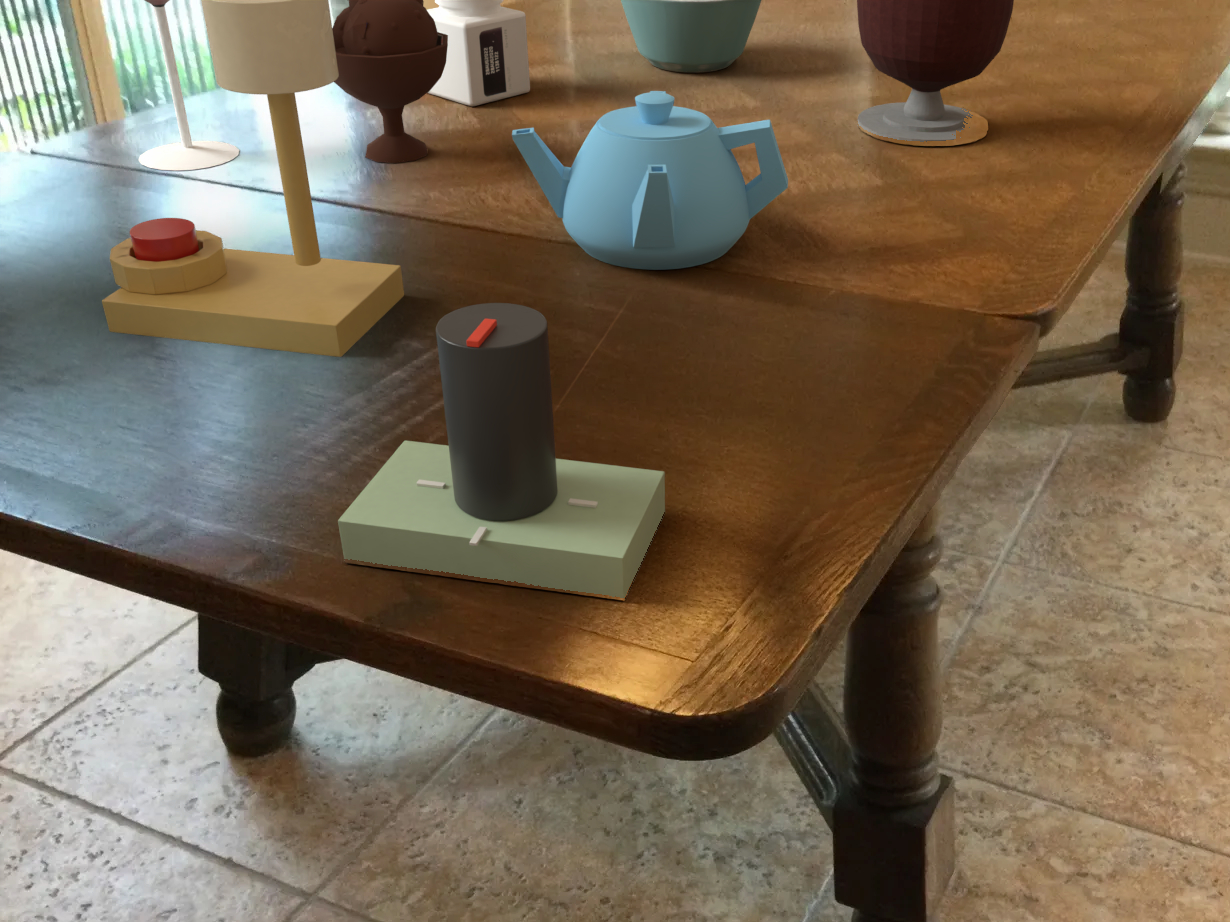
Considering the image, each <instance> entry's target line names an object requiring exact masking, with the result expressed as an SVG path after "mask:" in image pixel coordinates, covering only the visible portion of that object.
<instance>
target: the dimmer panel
mask: <svg viewBox="0 0 1230 922" xmlns="http://www.w3.org/2000/svg"><path fill="white" fill-rule="evenodd" d="M556 473H557V490H558V492H557V496H556V498H555V500H554V501H553V503H552V504H551V505H550V506H549V507H547V508H546V509H545V510H543V511H541V512H539V513H537V514H535V515H532V516H529V517H526V518H522V519H517V520H509V521H493V520H485V519H480V518H477V517H474V516H471V515H469V514H467V513H465V512H464V511H462V510H461V509H460V508H459V506H458V505H457V504H456V502H455V498H454V490H453V481H452V472H451V463H450V454H449V445H446V444H437V443H431V442H423V441H422V442H421V441H414V440H413V441H412V440H404V441H403V442H402V443H401V444H400V445H399V446H398V447H397V448H396V450H395V451H394V453H392V455H391V456H390V457H389V458H388V460H386V462H385V463H384V464H383V466H382V467H381V468H380V469H379V470H378V472H377V473H376V474H375V475H374V476H373V477H372V479H371V480H370V481H369V483H367V485H366V486H365V487H364V488H363V490H362V491H360V493H359V494H358V496H357V497H356V498H355V499H354V500H353V502H352V503H351V504H350V505H349V507H347V509H346V510H345V511H344V512H343V514H342V515H341V516H340V517H339V519H338V520H337V523H338V529H339V535H340V542H341V548H342V553H343V560H344V559H348V560H350V559H352V560H357V561H358V560H359V561H364V562H370V563H371V562H372V563H373V564H375V563H377V564H383V565H388V566H391V565H392V566H398V567H401V566H402V567H407V568H413V569H415V568H417V569H423V570H425V569H427V570H429V571H430V570H433V571H439V572H441V571H443V572H445V573H446V572H449V573H455V574H461V575H463V574H464V575H468V576H474V577H480V578H487V579H493V580H494V579H498V580H504V581H506V582H507V581H511V582H514V581H516V582H518V583H525V584H527V585H530V584H532V585H534V586H538V585H539V586H541V587H548V588H555V589H563V590H565V591H566V590H570V591H578V592H586V593H594V594H602V595H609V596H612V597H615V596H616V597H620V598H625V596H626V594H627V591H628V589H629V587H630V585H631V583H632V581H633V579H634V577H635V575H636V573H637V571H638V572H639V570H638V568H639V567H640V568H641V566H642V564H641V562H642V561H643V562H644V560H643V558H644V559H645V557H646V555H645V553H646V552H647V553H648V551H647V549H648V547H649V545H650V546H651V544H650V542H651V541H652V542H653V540H652V538H653V536H654V533H655V531H656V530H657V531H658V529H657V527H658V525H659V523H660V521H661V522H662V520H663V518H662V516H663V514H664V512H665V513H666V481H665V480H666V479H665V478H666V477H665V476H666V472H665V471H663V470H655V469H645V468H640V467H639V468H637V467H630V466H621V465H615V464H607V463H606V464H605V463H597V462H589V461H581V460H580V461H579V460H571V459H570V460H569V459H563V458H556ZM664 515H665V514H664ZM663 517H664V516H663ZM661 519H662V520H661ZM660 524H661V523H660ZM659 526H660V525H659ZM658 528H659V527H658ZM657 531H656V532H657ZM655 534H656V533H655ZM654 537H655V536H654ZM653 539H654V538H653ZM652 542H651V543H652ZM649 548H650V547H649ZM648 550H649V549H648ZM647 553H646V554H647ZM644 556H645V557H644ZM643 562H642V563H643ZM640 565H641V566H640ZM640 568H639V569H640ZM637 574H638V573H637ZM636 576H637V575H636ZM635 578H636V577H635ZM634 580H635V579H634ZM633 582H634V581H633ZM627 595H628V594H627Z"/></svg>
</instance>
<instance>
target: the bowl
mask: <svg viewBox="0 0 1230 922" xmlns="http://www.w3.org/2000/svg"><path fill="white" fill-rule="evenodd" d="M620 2H621V5H622V8H623V11H624V15H625V17H626V21H627V23H628V26H629V29H630V32H631V34H632V37H633V40H634V42H635V45H636V48H637V50H638V53H639V54H640V55H641V56H642V57H643V58H644V59H645V60H647V61H648V62H649V63H650V64H651V65H652V66H653V67H656V68H657V69H661V70H663V71H669V72H676V73H685V74H687V73H688V74H690V73H691V74H698V73H709V72H716V71H720V70H723V69H726V68H728V67H729V66H731V65H732V64H733V63H734V62H735V61H736V60H737V59H738V58H739V57H740V56H741V55H742V54H743V53H744V51H745V48H746V45H747V42H748V40H749V37H750V34H751V32H752V30H753V26H754V23H755V21H756V18H757V15H758V12H759V9H760V7H761V3H762V0H620Z"/></svg>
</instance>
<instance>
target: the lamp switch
mask: <svg viewBox="0 0 1230 922" xmlns="http://www.w3.org/2000/svg"><path fill="white" fill-rule="evenodd" d="M196 230H197V229H196V226H195V223H194V222H193V221H191V220H189V219H186V218H182V217H181V218H180V217H161V218H154V219H149V220H145V221H142V222H140V223H137V224H135V225H133V226H132V227H131V228H130V229H129V238H131V242H132V246H133V250H134V254H135V258H136V259H138V260H142V261H152V262H160V261H170V260H177V259H180V258H184V257H187V256H190V255H194V254H195V253H197V252H198V251H200V249H199V244H198V239H197V234H196Z"/></svg>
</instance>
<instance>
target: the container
mask: <svg viewBox="0 0 1230 922" xmlns="http://www.w3.org/2000/svg"><path fill="white" fill-rule="evenodd" d="M503 2H504V0H434V3H435V4H436V5H438V7H433V8H428V9H427V8H426V10H427V11H428V13H429V14H430V15H431V17H432V18H433V19H434V21H435V25H436V28H437V32H439V33H443V34H446V35H448V47H447V58H446V64H445V67H444V70H443V73H442V76H441V78H440V79H439V80H438V82H437V83H436V84H435V85H434V86H433V88H432V89H431V90H430V91H429V92H428V93H427V94H429V95H433V96H436V97H438V98H443V99H445V100H448V101H451V102H452V101H453V102H455V103H458V104H461V105H466V106H468V107H477V106H480V105H484V104H489V103H492V102H496V101H500V100H504V99H509V98H512V97H515V96H520V95H524V94H527V93H529V92H530V91H531V77H530V64H529V48H528V47H529V46H528V32H527V31H528V30H527V15H526V13H525V12H524V11H522V10H519V9H514V8H511V7H510V8H509V7H506V6H502V5H501V4H502V3H503Z"/></svg>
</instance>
